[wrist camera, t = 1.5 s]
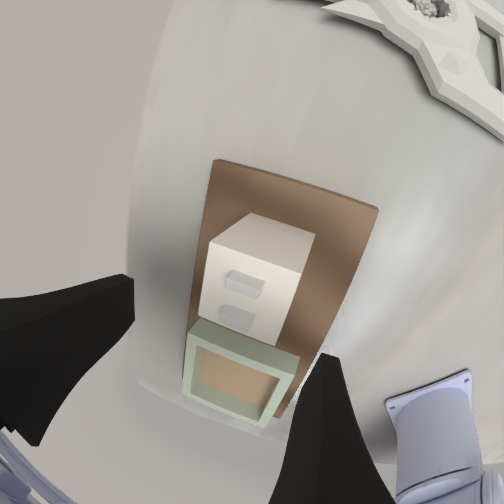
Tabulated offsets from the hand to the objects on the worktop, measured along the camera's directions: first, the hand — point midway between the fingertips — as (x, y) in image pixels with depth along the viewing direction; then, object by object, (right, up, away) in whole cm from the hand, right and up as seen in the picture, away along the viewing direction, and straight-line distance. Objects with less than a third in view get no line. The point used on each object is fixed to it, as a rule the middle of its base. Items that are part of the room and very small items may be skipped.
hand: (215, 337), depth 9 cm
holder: (0, -6, +13) cm, 15 cm away
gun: (+12, +17, +1) cm, 20 cm away
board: (+2, -2, +11) cm, 11 cm away
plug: (+3, +3, +8) cm, 9 cm away
